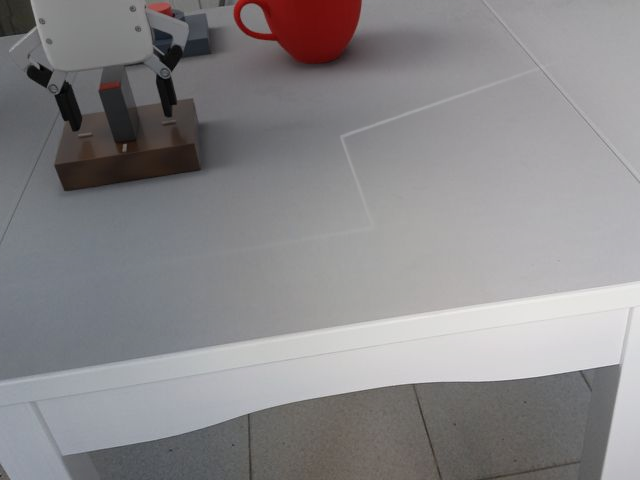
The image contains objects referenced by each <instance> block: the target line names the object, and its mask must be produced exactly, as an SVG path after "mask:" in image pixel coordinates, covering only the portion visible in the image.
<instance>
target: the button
mask: <svg viewBox="0 0 640 480" xmlns="http://www.w3.org/2000/svg"><path fill="white" fill-rule="evenodd" d="M147 8H148V9H151V10H154V11H156V12H159V13H162V14H164V15H167V16H170V17H172V18H174V17H173V13H172V9H173V8H172V5H171V4H170V3H168V2H155V3H152V4H148V5H147Z"/></svg>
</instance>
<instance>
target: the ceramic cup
mask: <svg viewBox="0 0 640 480" xmlns="http://www.w3.org/2000/svg"><path fill="white" fill-rule="evenodd" d="M249 4H252V5H256V6H258V7H259V8H260V9H261V11H262V12H263V16H264V19H265V21H266V24H267V26H268V29H269V31H270V33H266V32H265V33H262V32H257V31H253V30H251V29H249V28H248V27H247V26H246V25H245V24H244V22H243V21H242V20H243V19H242V17H241V16H242V15H241V13H242V10H243V8H244V7H245V6H247V5H249ZM362 5H363V0H237V1H236V3H235V4H234V7H233V13H232V14H233V19H234V23H235V25H236V26H237V27H238V28H239V30H240V31H241V32H242V33H243V34H245V35H246V36H248V37H250V38H253V39H255V40H260V41H270V42H277V43H278V45H279V46H280V47H281V48H282V49H283V50H284V51H285V52H286V53H287V54H288V55H290V56H291V57H292V59H293V60H294V61H297V62H298V63H303V64H322V63H327V62H330V61H333V60H335V59H337V58H339V57H340V56H341V55H342V54H343V52H344V50H345V49H346V47H348V45H349V44H350V42H351V40H352V39H353V37H354V35H355V34H356V33H355V32H356V30H357V28H358V25H359V22H360V17H361V12H362Z"/></svg>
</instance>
